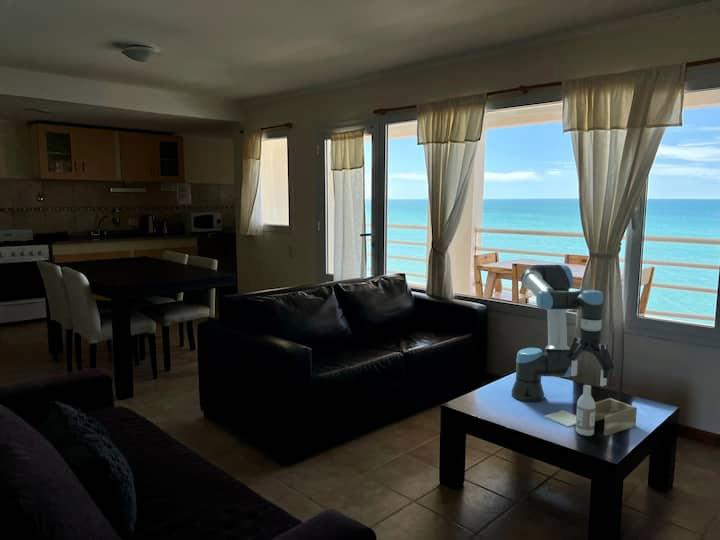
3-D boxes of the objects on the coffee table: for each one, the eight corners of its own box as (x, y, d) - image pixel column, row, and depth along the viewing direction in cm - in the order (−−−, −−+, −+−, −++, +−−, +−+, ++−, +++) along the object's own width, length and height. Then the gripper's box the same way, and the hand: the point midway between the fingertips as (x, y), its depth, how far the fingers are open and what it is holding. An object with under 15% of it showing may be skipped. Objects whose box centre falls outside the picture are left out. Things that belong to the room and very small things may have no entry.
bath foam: (587, 437, 206) (590, 390, 203) (572, 431, 212) (574, 385, 209) (597, 433, 210) (600, 386, 207) (582, 427, 215) (584, 381, 213)
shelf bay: (580, 424, 218) (581, 406, 217) (609, 415, 228) (610, 398, 226) (606, 435, 208) (607, 417, 207) (635, 425, 217) (636, 407, 216)
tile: (544, 416, 226) (544, 415, 226) (563, 411, 232) (563, 410, 232) (567, 427, 216) (567, 425, 216) (586, 421, 221) (586, 419, 221)
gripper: (558, 323, 214) (556, 373, 216) (613, 336, 192) (610, 391, 195) (570, 322, 217) (568, 370, 220) (625, 334, 196) (622, 388, 198)
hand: (588, 380), depth 207 cm, fingers open, 13 cm apart
